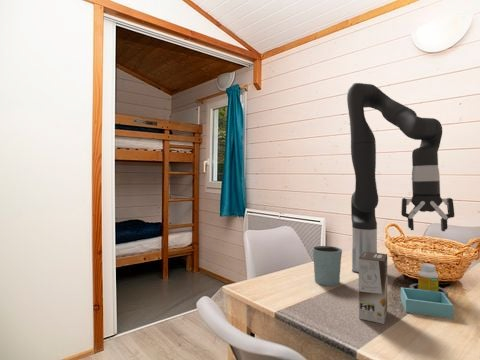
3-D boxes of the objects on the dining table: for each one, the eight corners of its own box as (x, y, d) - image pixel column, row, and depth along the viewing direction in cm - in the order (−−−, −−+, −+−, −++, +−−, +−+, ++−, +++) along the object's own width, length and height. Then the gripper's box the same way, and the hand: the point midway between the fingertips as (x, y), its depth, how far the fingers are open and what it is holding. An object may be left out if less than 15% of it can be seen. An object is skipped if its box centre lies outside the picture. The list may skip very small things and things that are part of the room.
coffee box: (385, 324, 75) (385, 261, 75) (358, 318, 78) (358, 258, 78) (387, 311, 83) (387, 253, 83) (363, 306, 86) (363, 250, 86)
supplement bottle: (431, 300, 90) (431, 268, 91) (414, 294, 95) (414, 263, 95) (442, 297, 93) (441, 265, 93) (424, 291, 98) (424, 261, 98)
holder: (413, 299, 91) (413, 292, 91) (407, 287, 101) (407, 282, 101) (451, 304, 87) (451, 297, 87) (442, 291, 97) (442, 285, 97)
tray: (405, 312, 82) (405, 299, 82) (400, 298, 92) (400, 287, 92) (453, 318, 78) (453, 305, 78) (442, 304, 88) (442, 292, 88)
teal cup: (310, 284, 104) (310, 250, 104) (314, 275, 114) (314, 244, 114) (341, 288, 101) (341, 252, 101) (342, 279, 110) (342, 246, 110)
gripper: (401, 180, 95) (403, 231, 95) (455, 179, 89) (457, 233, 89) (399, 180, 102) (401, 228, 102) (449, 179, 96) (451, 229, 96)
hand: (427, 230), depth 95 cm, fingers open, 8 cm apart
